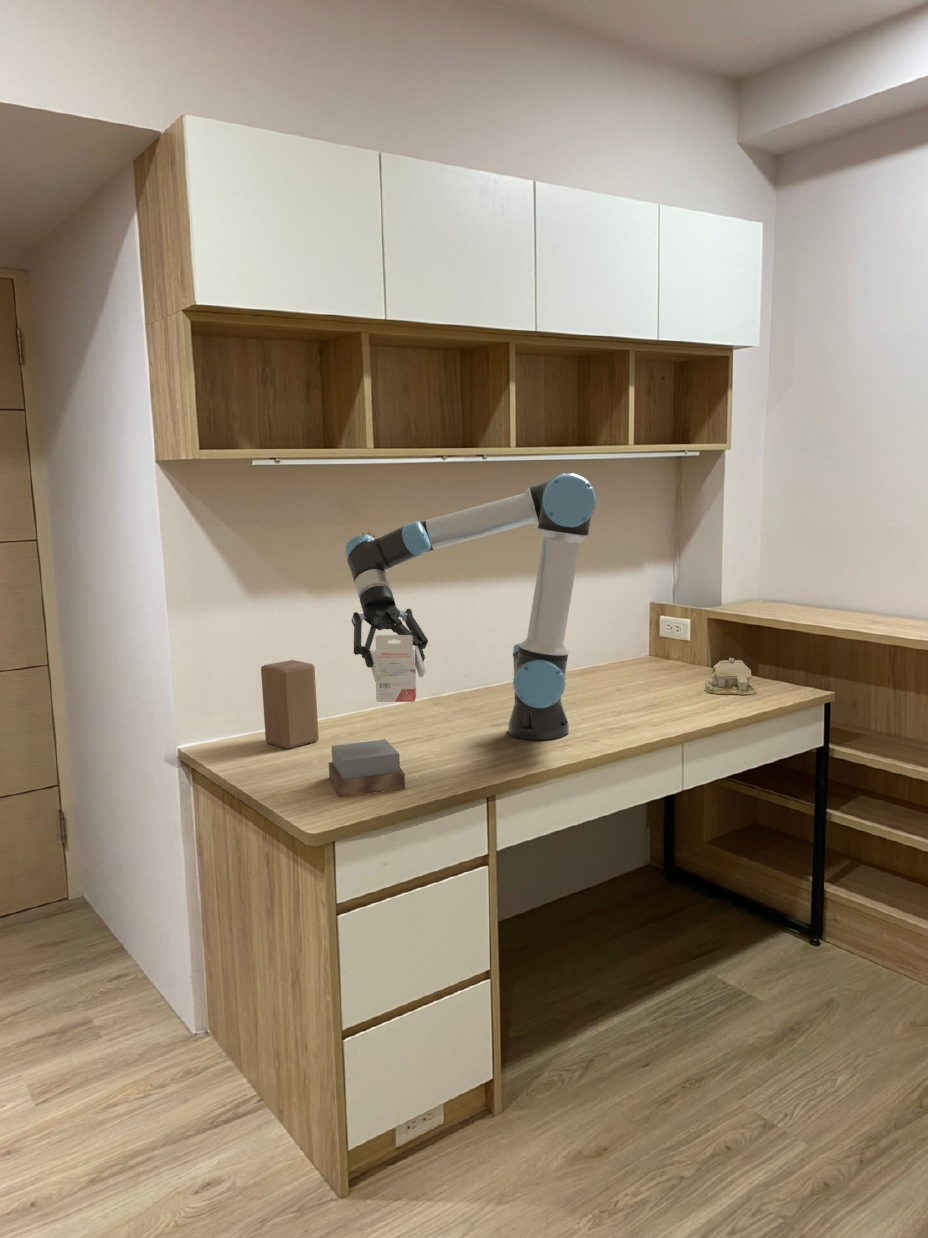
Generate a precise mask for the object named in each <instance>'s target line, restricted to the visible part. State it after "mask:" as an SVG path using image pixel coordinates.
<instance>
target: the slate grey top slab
mask: <svg viewBox="0 0 928 1238" xmlns="http://www.w3.org/2000/svg"><path fill="white" fill-rule="evenodd" d="M331 757H332V758H331V759H332V761H331V762H332V763H333V765H334V767H335V768H336V769H337V771H338V772H339V774H340V775H341V776H342V778H343V779H351V778H359V777H366V776H374V775H381V774H388V773H396V772H400V768H401V763H400V762H401V761H400V760H401V759H400V753H399V751H398V750H397V749H396V748H394V747H393V746H392V744H390V742H388V741H387V740H386V738H385V739H379V740H370V741H361V742H354V743H353V742H351V743H343V744H336V745H332V746H331Z"/></svg>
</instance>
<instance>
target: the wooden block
mask: <svg viewBox="0 0 928 1238" xmlns="http://www.w3.org/2000/svg"><path fill="white" fill-rule="evenodd" d="M260 667H261V668H260V674H261V675H260V676H261V688H262V689H261V690H262V691H261V692H262V703H263V705H262V706H263V716H264V717H263V718H264V735H265V741H266V743H268V744H269V745H274V746H276V747H280V748H283V749H287V750H289V749H293V748H297V747H301V746H304V745H308V743H309V744H313V743H316V742H318V741H319V738H320V737H319V723H318V722H319V719H318V703H317V687H316V672H315V670H316V669H315V665H314V663H310V662H304V661H299V660H295V659H290V660H284V661H280V662H279V661H278V662H273V663H267V664H264V665H262V666H260Z"/></svg>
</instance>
